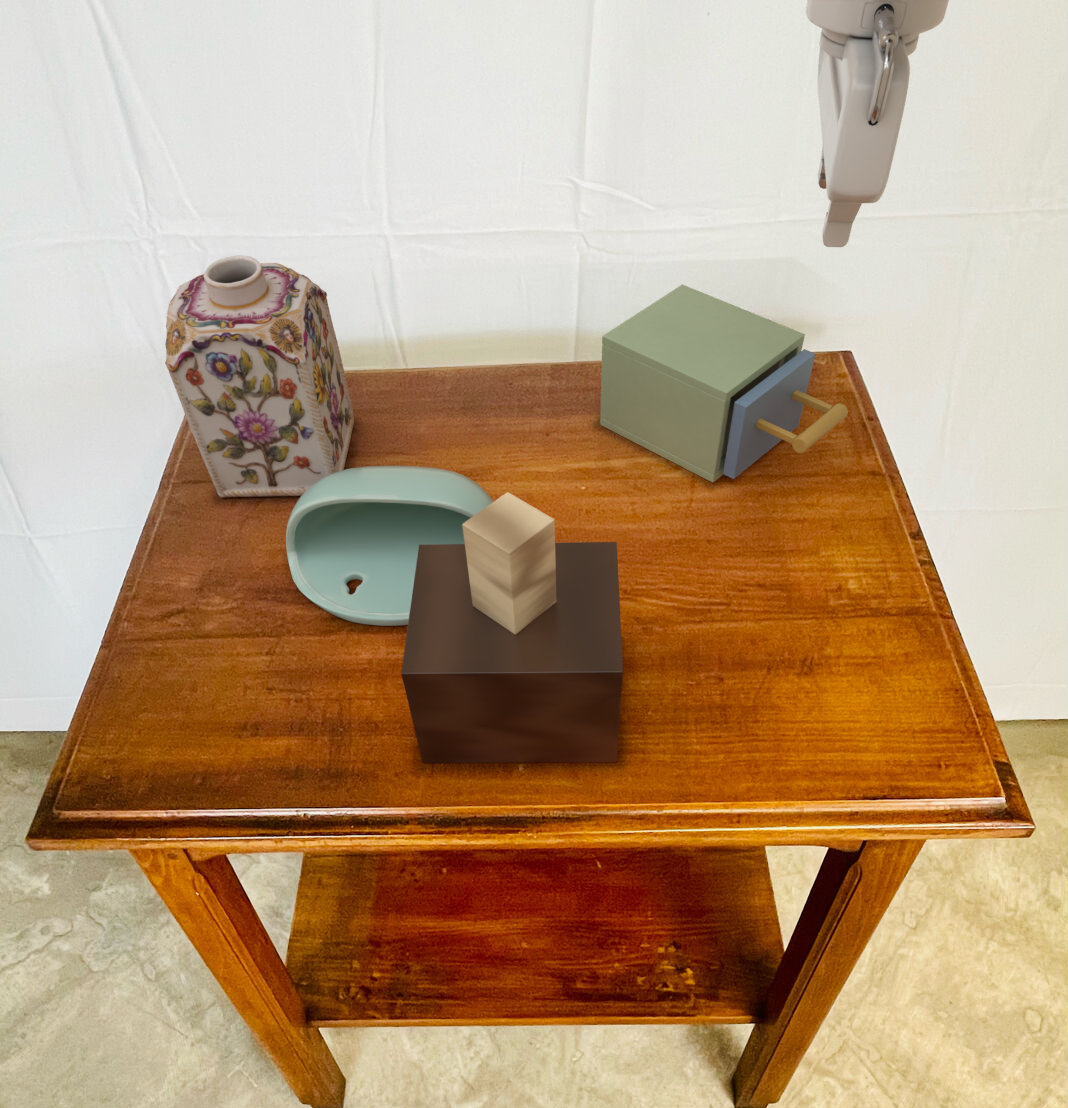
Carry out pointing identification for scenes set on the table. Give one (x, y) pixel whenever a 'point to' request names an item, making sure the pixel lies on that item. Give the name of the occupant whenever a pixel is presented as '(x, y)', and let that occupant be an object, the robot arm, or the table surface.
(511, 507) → the block
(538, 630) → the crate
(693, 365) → the cabinet
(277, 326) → the decorative jar
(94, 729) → the table surface
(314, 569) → the planter
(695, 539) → the table surface
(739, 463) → the drawer
